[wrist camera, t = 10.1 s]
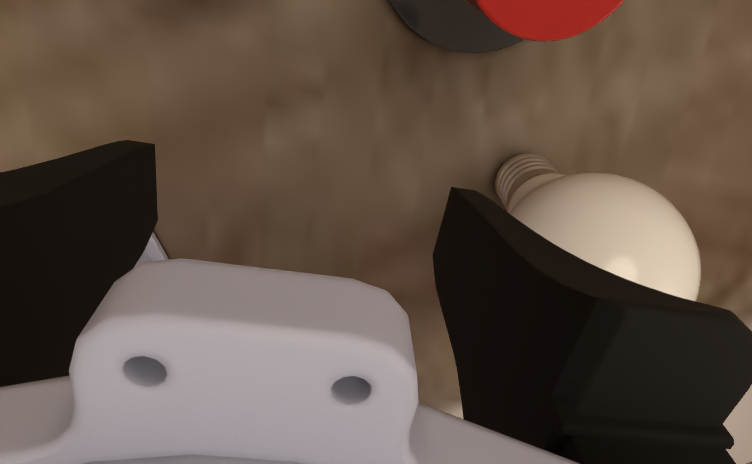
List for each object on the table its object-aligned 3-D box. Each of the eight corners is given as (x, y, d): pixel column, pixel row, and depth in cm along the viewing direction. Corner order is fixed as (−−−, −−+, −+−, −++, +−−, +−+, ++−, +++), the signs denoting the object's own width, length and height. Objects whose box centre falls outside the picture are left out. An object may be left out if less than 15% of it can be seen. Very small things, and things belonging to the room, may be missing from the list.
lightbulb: (614, 169, 24) (790, 318, 15) (510, 255, 26) (607, 436, 17) (530, 77, 22) (676, 184, 12) (424, 180, 24) (478, 340, 15)
